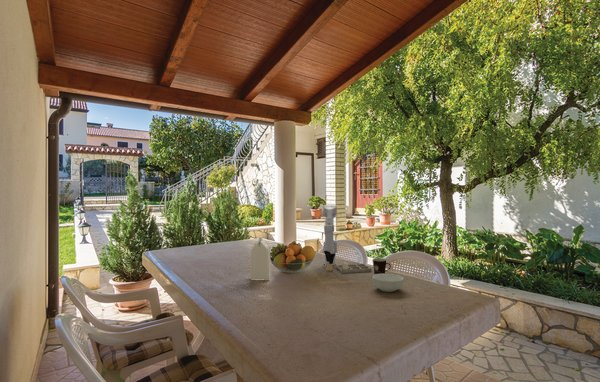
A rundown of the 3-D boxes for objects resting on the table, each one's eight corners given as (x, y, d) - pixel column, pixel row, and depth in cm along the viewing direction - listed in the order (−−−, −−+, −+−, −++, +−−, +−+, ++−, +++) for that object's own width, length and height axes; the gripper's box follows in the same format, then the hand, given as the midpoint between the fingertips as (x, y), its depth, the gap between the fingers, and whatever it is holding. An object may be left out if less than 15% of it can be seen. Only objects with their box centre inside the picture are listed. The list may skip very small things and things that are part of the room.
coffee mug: (370, 274, 214) (370, 258, 214) (381, 273, 217) (381, 257, 217) (379, 278, 203) (379, 262, 203) (392, 277, 206) (391, 261, 206)
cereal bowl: (405, 295, 171) (405, 281, 171) (372, 293, 174) (372, 280, 174) (402, 286, 188) (401, 273, 188) (372, 284, 191) (371, 272, 191)
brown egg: (325, 271, 224) (325, 262, 224) (332, 270, 225) (331, 262, 225) (327, 272, 220) (327, 263, 220) (333, 272, 220) (333, 263, 220)
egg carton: (336, 269, 228) (336, 265, 228) (364, 268, 231) (363, 263, 231) (342, 274, 214) (342, 270, 214) (371, 273, 218) (371, 268, 218)
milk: (269, 280, 203) (268, 238, 202) (250, 280, 203) (249, 238, 203) (271, 275, 215) (270, 235, 214) (253, 275, 215) (253, 235, 215)
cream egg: (341, 270, 220) (341, 261, 220) (347, 270, 221) (347, 261, 221) (343, 272, 216) (343, 263, 216) (349, 272, 217) (349, 263, 217)
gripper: (321, 241, 229) (321, 260, 228) (326, 244, 214) (326, 265, 214) (331, 240, 230) (331, 260, 230) (336, 243, 215) (336, 264, 215)
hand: (329, 262), depth 222 cm, fingers open, 7 cm apart
